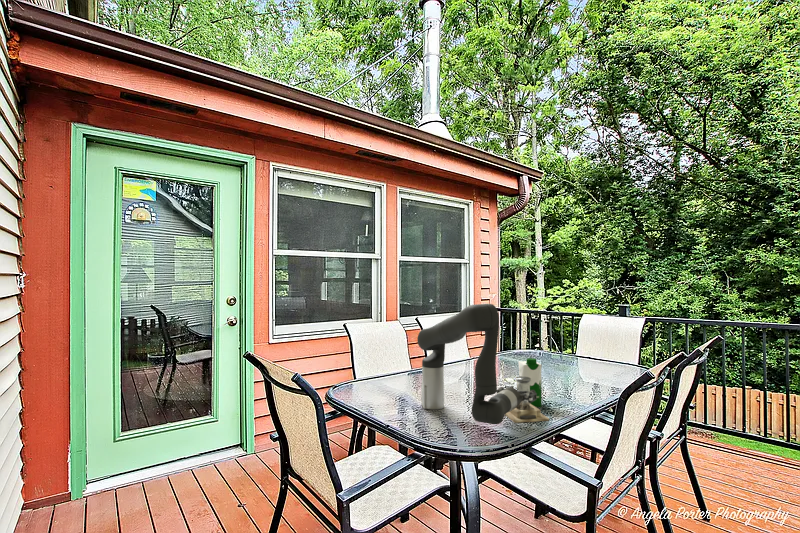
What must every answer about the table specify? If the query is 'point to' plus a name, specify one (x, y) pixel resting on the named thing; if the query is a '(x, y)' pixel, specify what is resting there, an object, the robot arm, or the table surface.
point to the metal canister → (523, 385)
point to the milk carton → (532, 377)
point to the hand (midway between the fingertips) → (522, 390)
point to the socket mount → (526, 415)
